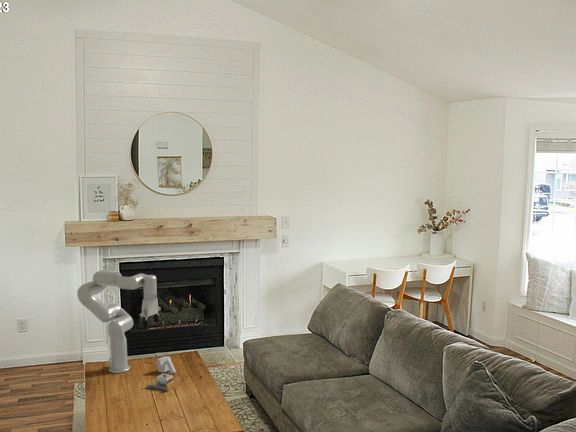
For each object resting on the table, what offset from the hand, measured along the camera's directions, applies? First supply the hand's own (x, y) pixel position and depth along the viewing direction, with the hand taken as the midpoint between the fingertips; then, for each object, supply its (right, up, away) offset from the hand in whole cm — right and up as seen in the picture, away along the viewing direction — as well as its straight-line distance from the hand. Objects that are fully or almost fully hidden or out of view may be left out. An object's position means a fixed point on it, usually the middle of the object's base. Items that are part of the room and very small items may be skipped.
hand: (150, 324), depth 337 cm
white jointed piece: (+10, -30, +4) cm, 32 cm away
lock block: (+12, -32, -15) cm, 37 cm away
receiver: (+12, -32, -16) cm, 37 cm away
